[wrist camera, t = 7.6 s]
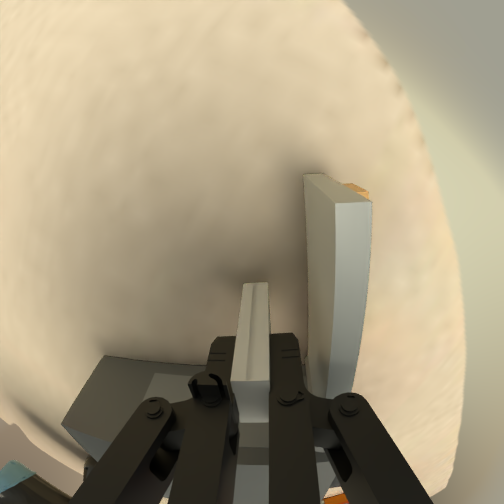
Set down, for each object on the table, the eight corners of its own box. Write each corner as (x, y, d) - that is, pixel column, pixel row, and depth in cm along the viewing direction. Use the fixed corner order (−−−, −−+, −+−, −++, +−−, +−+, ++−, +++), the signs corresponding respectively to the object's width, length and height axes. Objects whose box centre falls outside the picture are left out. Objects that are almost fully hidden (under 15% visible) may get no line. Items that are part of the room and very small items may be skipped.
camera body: (147, 430, 24) (124, 493, 16) (103, 355, 20) (55, 431, 11) (341, 436, 22) (351, 508, 14) (364, 358, 18) (396, 459, 10)
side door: (298, 174, 13) (327, 203, 7) (338, 172, 13) (398, 200, 6) (304, 367, 18) (312, 453, 11) (332, 364, 17) (349, 448, 11)
